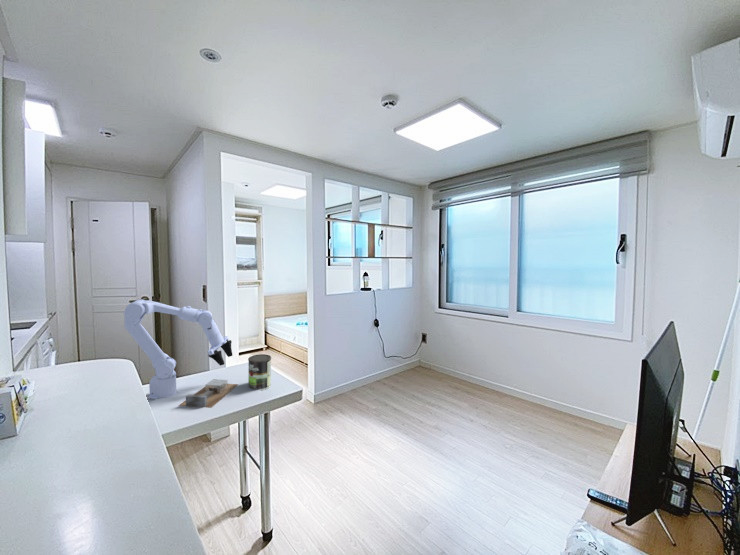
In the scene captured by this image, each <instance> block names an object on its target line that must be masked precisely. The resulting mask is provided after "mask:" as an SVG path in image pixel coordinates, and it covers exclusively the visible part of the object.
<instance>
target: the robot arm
mask: <svg viewBox="0 0 740 555" xmlns="http://www.w3.org/2000/svg"><path fill="white" fill-rule="evenodd" d="M155 312H156V313H162V314H166V315H168V314H169V315H173V316H177V317H178V319H179V320H183V321H187V322H192V323H197V324H198V325H200V326H201V328H202V330H203V333H204V335H205V337H206V338H207V340H208V342H209V344H210V348H209V350H208V351H207V354H208V355H207V356H208V357H209V358H210V359H212V360H214V361H215V362H216V363H217V364H218V365H219V366H223V365H225V361H224V357H223V354H222V350H223V352H224V353H225V355H226V356H227V357H228V358H230V357H233V351H232V340H231V339H230V338H229V336H228V335H226V336H223V334H221V331H220V329H219V327H218V325H217V323H216V321H215V320H214V318H213V314H212V312H211V311H209V310H207V309H202V308H200V309H198V308H193V307H192V306H190V305H187V306H182V307H177V306H172V305H168V304H165V303H162V302H158V301H153V300H145V299H141V298H140V299H139V298H138V299H136V300H134V301H133V302H130V303H129V304H127V305H126V307H125V309H124V311H123V316H124V324H123V325H124V328H125V330H126V331H127V332H128V333H129V335H130V336H131V337H132V338H133V340H134V341H135V342H136V344H137V345H138V346H139V347H140V349H141V350H142V351H143V352H144V353H145V355H146V356H147V357H148V358H149V360H150V361H151V365H152V367H153V369H154V372H155V375H153V376H152V377H151V379H150V381H149V382H148V383H149V384H148V386H149V396H148V397H147V398H148V399H150V400H157V399H159V398H168V397H172V396H174V395H175V394H177V372H176V371H175V368H176V367H177V361H176V360H175V359H174V358H173V357H170V356H169V355H168V354H167V353H165V352H164V351H163V350H162V348H160V346H159V345H158V344H157V342H156V341H155V340H154V339H153V337H152V336H151V335H150V333H149V332H148V331H147V329H145V327H144V326H143V325H142V322H143V319H144V316H145V315H149V314H153V313H155ZM220 348H221V349H222V350H219V349H220Z"/></svg>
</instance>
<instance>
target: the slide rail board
mask: <svg viewBox="0 0 740 555" xmlns="http://www.w3.org/2000/svg"><path fill="white" fill-rule="evenodd" d="M238 385H239V384H237V383H228V387H227V388H226V389H225V390H224V391H222V392H221V393H217V388H214V389H213V390H211V391H207V392H205V386H204V387H202V388H201V389H199V390H198V391H197V392H195V393H193V394H187V395H186V396H185V400H184V401H183V402H181V403H180V404H178V406H179V407H195V408H210V409H212V408H213V407H214V406H215V405H216V404H218V403H219V402H220V401H221V400H223V398H225V397H226V396H227V395H228V394H229V393H231V391H233V390H234V389H235V388H236V387H237V386H238Z"/></svg>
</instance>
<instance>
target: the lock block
mask: <svg viewBox="0 0 740 555" xmlns="http://www.w3.org/2000/svg"><path fill="white" fill-rule="evenodd" d="M228 384H229V383H228V379H211V380H210V381H209V382H207V383H206V384H205V385H204V387H205V392H207V391H211V390H213V389H214V388H217V393H221V392H222V391H224V390H225V389H226V388H227V387H228Z"/></svg>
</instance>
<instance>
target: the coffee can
mask: <svg viewBox="0 0 740 555" xmlns="http://www.w3.org/2000/svg"><path fill="white" fill-rule="evenodd" d="M247 361H248V381H247V382H248V386H247V387H248V388H249V389H251V390H261V391H265V390H268V389H269V388H270V387H271V385H272V384H271V382H272V380H271V379H272V378H271V376H272V375H271V372H272V367H271V366H272V364H271V363H272V356H271V355H269V354H266V353H264V354H263V353H262V354H261V353H260V354H254V355H251V356H249V357H248V359H247Z"/></svg>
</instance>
